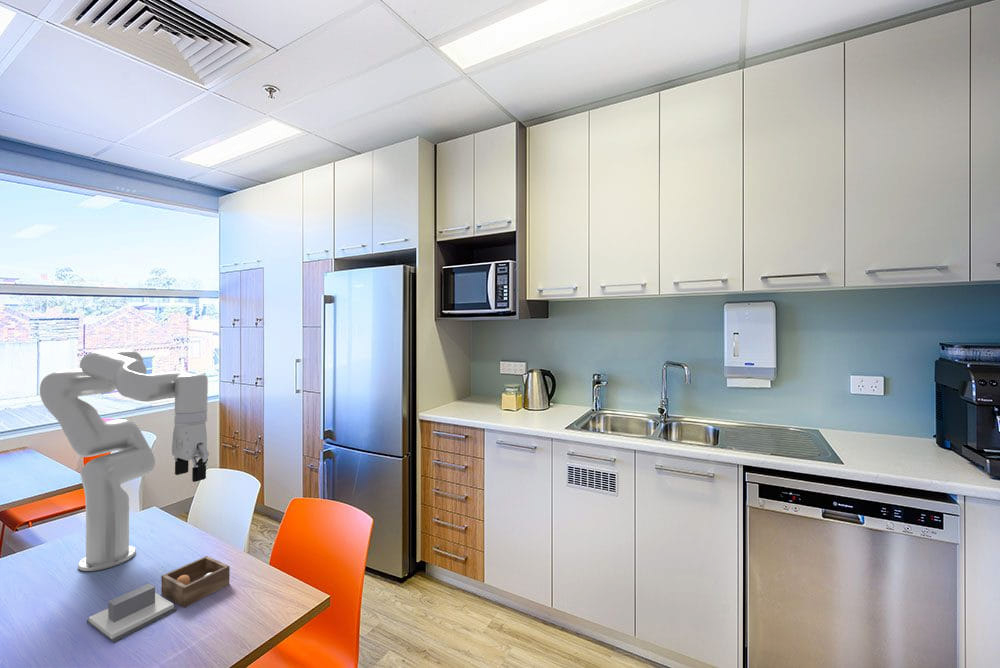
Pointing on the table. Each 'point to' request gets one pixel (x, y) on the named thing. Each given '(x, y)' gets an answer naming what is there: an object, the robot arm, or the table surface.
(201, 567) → the box
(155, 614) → the lid
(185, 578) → the orange ball
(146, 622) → the mat
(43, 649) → the table surface
